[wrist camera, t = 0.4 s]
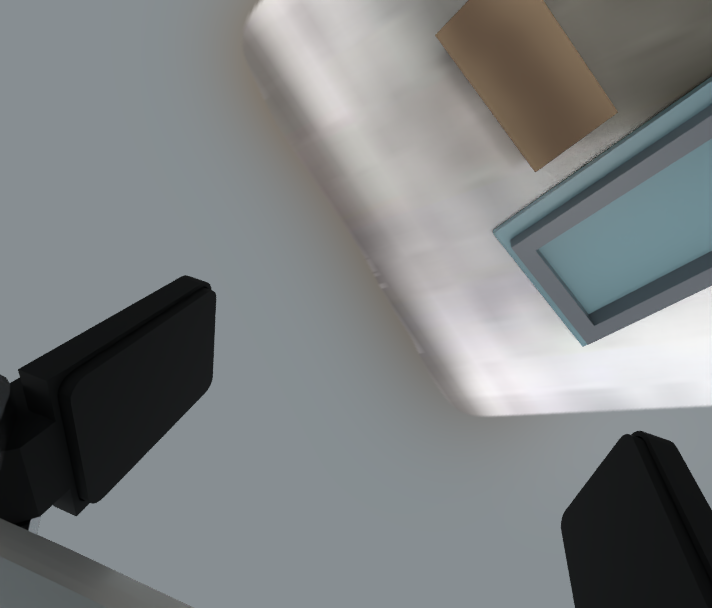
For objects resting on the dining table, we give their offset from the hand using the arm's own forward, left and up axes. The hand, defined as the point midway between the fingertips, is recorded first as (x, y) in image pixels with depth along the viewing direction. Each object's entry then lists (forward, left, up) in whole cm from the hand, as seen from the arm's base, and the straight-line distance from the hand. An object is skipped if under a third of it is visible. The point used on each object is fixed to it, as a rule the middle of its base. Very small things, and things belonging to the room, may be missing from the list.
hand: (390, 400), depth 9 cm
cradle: (-8, +11, -27) cm, 30 cm away
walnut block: (-7, -3, -27) cm, 28 cm away
